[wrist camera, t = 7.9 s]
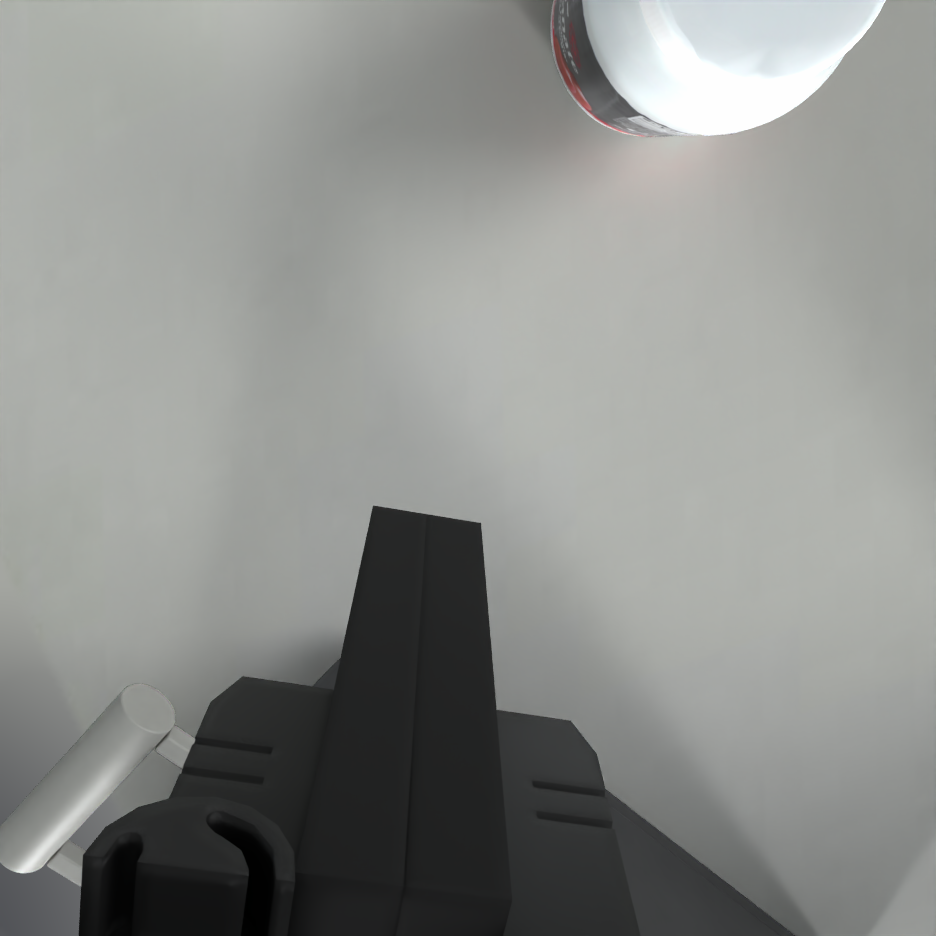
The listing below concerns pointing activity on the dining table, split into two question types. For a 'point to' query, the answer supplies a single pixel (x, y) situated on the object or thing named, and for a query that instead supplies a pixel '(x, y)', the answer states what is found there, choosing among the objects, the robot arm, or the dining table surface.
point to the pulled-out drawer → (95, 778)
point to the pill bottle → (700, 59)
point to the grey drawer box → (680, 886)
